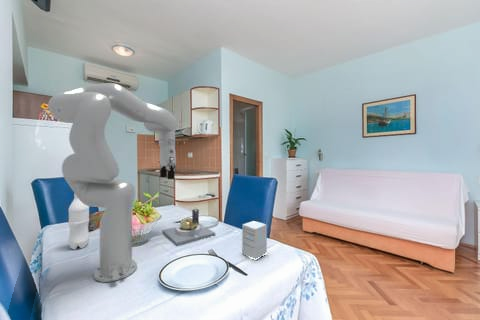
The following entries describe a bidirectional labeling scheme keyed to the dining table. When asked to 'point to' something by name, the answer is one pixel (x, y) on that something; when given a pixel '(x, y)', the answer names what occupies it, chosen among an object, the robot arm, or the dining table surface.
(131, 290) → the dining table surface
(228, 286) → the dining table surface
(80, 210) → the water bottle
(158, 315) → the dining table surface
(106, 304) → the dining table surface
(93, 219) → the tin
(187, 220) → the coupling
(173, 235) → the base plate
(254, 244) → the supplement box
